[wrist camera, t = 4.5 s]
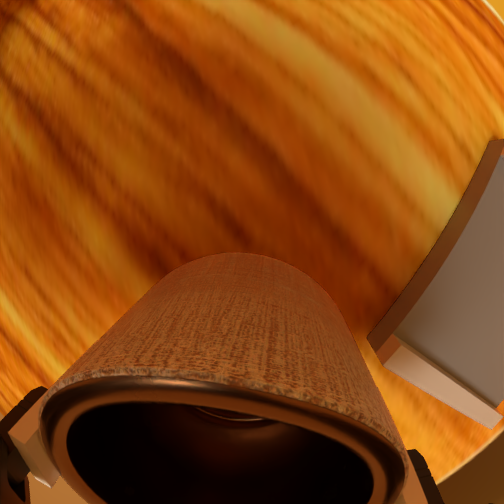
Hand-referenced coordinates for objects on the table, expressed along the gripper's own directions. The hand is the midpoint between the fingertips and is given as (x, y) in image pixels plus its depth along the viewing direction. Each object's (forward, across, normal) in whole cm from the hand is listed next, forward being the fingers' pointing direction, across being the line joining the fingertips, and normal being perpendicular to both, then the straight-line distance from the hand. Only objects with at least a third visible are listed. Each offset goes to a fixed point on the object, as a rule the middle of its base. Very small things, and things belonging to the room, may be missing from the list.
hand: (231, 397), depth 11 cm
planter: (+4, 0, 0) cm, 4 cm away
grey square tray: (+6, +18, +4) cm, 20 cm away
